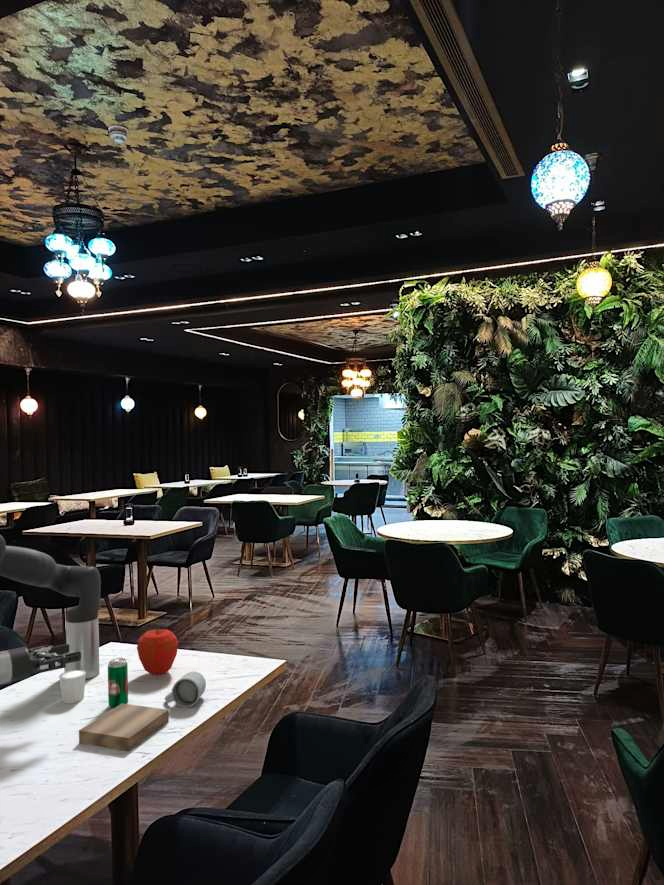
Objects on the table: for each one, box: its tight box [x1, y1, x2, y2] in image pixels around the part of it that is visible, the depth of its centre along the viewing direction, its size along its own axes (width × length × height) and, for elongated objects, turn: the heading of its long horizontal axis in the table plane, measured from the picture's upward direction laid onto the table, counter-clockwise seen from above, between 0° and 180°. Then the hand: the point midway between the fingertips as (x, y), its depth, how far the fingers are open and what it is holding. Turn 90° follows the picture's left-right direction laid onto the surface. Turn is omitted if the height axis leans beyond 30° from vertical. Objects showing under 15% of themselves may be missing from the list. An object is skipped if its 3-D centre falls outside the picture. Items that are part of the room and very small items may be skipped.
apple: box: [136, 627, 179, 676], centre depth 193 cm, size 12×12×14 cm
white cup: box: [58, 670, 86, 704], centre depth 175 cm, size 7×7×7 cm
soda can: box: [107, 657, 129, 709], centre depth 170 cm, size 5×5×12 cm
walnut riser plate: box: [78, 703, 170, 752], centre depth 154 cm, size 14×16×3 cm
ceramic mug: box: [164, 671, 207, 708], centre depth 172 cm, size 11×8×8 cm
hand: (74, 651), depth 163 cm, fingers open, 8 cm apart
